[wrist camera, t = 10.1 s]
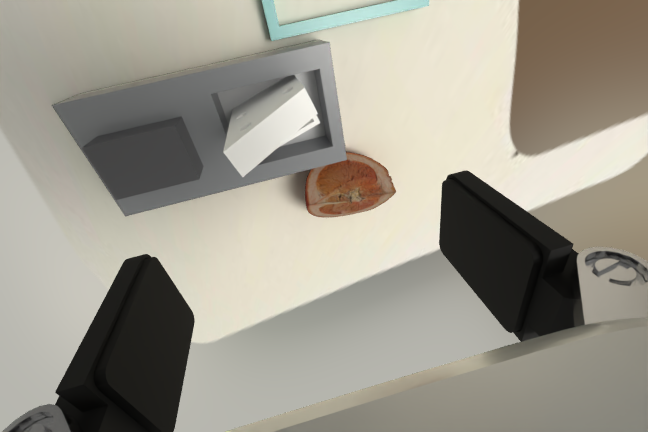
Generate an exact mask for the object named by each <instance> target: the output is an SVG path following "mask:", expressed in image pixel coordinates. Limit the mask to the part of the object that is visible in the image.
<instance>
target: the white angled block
mask: <svg viewBox="0 0 648 432" xmlns="http://www.w3.org/2000/svg"><path fill="white" fill-rule="evenodd" d="M317 114H318V113H317V111H316V109H315V107H314V105H313V103H312V101H311V99H310V97H309V95H308V93H307V91H306V89H305V88H304V86H303V85H302V84H301V83H300V81H299V80H298V79H297V78H296V77H295V75H291V76H287V77H285V78H283V79H282V80H280V81H278V82H277V83H275V84H273V85H272V86H270V87H269V88H267V89H265V90H264V91H262V92H260V93H259V94H257V95H255V96H254V97H252V98H250V99H249V100H247V101H245V102H244V103H242V104H241V105H239V106H237V107H236V108H234V109H233V110H232V114H231V119H230V123H229V128H228V132H227V137H226V141H225V146H224V151H223V153H224V154H225V155H226V156H227V158H228V159H229V160H230V162H231V163H232V164H233V166H234V167H235V168H236V169H237V171H238V172H239V173H240V175H241V176H242V177H244V176H245V175H246V174H248V173H249V172H250V171H251V170H252V169H253V168H255V167H256V166H257V165H258V164H259V163H260V162H262V161H263V160H264V159H265V158H266V157H268V156H269V155H270V154H271V153H272V152H273V151H275V150H276V149H277V148H278V147H280V146H282V145H283V144H285V143H287V142H288V141H290V140H292V139H294V138H295V137H297V136H299V135H300V134H302V133H304V132H306V131H307V130H309V129H311V128H312V127H314V126H316V125H318V124H319V123H320V121H319V119H318V117H317V116H316V115H317Z"/></svg>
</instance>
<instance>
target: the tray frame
mask: <svg viewBox="0 0 648 432" xmlns="http://www.w3.org/2000/svg"><path fill="white" fill-rule="evenodd" d="M261 1H262V6H263V10H264V14H265V18H266V22H267V26H268V30H269V34H270V39H271V41H274V40H278V39H283V38H287V37H291V36H296V35H300V34H305V33H309V32H314V31H318V30H323V29H327V28H332V27H336V26H341V25H345V24H350V23H354V22H359V21H363V20H367V19H372V18H376V17H381V16H385V15H390V14H394V13H399V12H403V11H408V10H412V9H417V8H421V7H426V6H429V0H395V1H390V2H386V3H381V4H377V5H372V6H367V7H363V8H358V9H354V10H349V11H345V12H340V13H336V14H331V15H327V16H322V17H318V18H313V19H309V20H304V21H299V22H295V23H290V24H286V25H281V26H279V23H278V18H277V14H276V9H275V5H274V1H273V0H261Z"/></svg>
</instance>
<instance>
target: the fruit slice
mask: <svg viewBox="0 0 648 432" xmlns="http://www.w3.org/2000/svg"><path fill="white" fill-rule="evenodd" d="M346 156H347V160H345V161H341V162H337V163H333V164H329V165H325V166H321V167H317V168H313V169H311V171H310V173H309V175H308V177H307V180H306V186H305V200H306V206H307V210H308V212H309V213H310V214H312V215H314V216H317V217H338V216H345V215H350V214H355V213H360V212H364V211H368V210H371V209H374V208H376V207H377V206H379V205H381V204H382V203H384V202H386V201H387V200H388V199H389V198H391V197H392V196H393V195H394V193H395V192H396V190H395V188H394V186H393V183H392V182H391V181H392V179H391V176H389V174H388V170H387V169H386V168H385V167H384V166H382V165H381V164H380V163H378V162H376V161H375V160H373V159H371V158H369V157H366V156H364V155H360V154H355V153H349V152H346Z"/></svg>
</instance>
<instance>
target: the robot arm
mask: <svg viewBox="0 0 648 432" xmlns="http://www.w3.org/2000/svg"><path fill="white" fill-rule="evenodd" d="M439 245H440V249H441V251H442V253H443V254H444V255H445V257H446V258H447V259H448V260H449V262H450V263H451V264H452V265H453V266H454V268H455V269H456V270H457V271H458V273H460V275H461V276H462V277H463V279H464V280H465V281H466V282H467V284H468V285H469V286H470V287H471V288H472V289H473V291H474V292H475V293H476V294H477V296H478V297H479V298H480V299H481V300H482V302H483V303H484V304H485V305H486V307H487V308H488V309H489V310H490V311H491V313H492V314H493V315H494V316H495V318H496V319H497V320H498V321H499V322H500V324H501V325H502V326H503V327H504V328H505V329H506V330H507V331H508V332H510V333H512V332H513V333H514V334H515V335H516V336H517V337H518V339H519V340H520V341H521V342H519V343H515V344H512V345H508V346H504V347H501V348H498V349H495V350H491V351H488V352H484V353H481V354H478V355H474V356H471V357H468V358H464V359H461V360H458V361H454V362H451V363H448V364H444V365H441V366H438V367H434V368H431V369H428V370H424V371H421V372H418V373H414V374H411V375H408V376H404V377H401V378H398V379H395V380H391V381H388V382H385V383H382V384H378V385H375V386H372V387H369V388H365V389H362V390H359V391H355V392H352V393H349V394H345V395H342V396H339V397H336V398H332V399H329V400H326V401H323V402H319V403H316V404H313V405H309V406H306V407H303V408H300V409H296V410H293V411H290V412H287V413H284V414H280V415H277V416H274V417H271V418H267V419H264V420H261V421H258V422H255V423H251V424H248V425H245V426H242V427H238V428H235V429H232V430H229V431H226V432H648V262H647V261H646V260H644V259H642V258H640V257H639V256H637V255H635V254H632V253H629V252H626V251H624V250H620V249H615V248H610V247H592V248H588V249H585V250H582V251H581V252H580V253H579V254H578V253H577V252H576V251H574V250H573V249H572V247H573V243H571V242H570V241H568V240H567V239H565V238H564V237H563V236H561V235H560V234H558V233H557V232H555V231H554V230H553V229H551V228H550V227H548V226H547V225H545V224H544V223H542V222H541V221H539V220H538V219H536V218H535V217H534V216H532V215H531V214H529V213H528V212H527V211H525V210H524V209H522V208H521V207H519V206H518V205H517V204H515V203H514V202H512V201H511V200H509V199H508V198H506V197H505V196H504V195H502V194H501V193H499V192H498V191H496V190H495V189H493V188H492V187H491V186H489V185H488V184H486V183H485V182H483V181H482V180H481V179H479V178H478V177H476V176H475V175H473V174H472V173H470V172H469V171H462V172H458V173H454V174H450V175H448V176H447V179H446V180H445V181H443V183H442V198H441V219H440V240H439ZM193 327H194V315H193V312H192V310H191V309H190V307H189V306H188V304H187V303H186V301H185V300H184V298H183V297H182V295H181V294H180V292H179V291H178V289H177V288H176V286H175V284H174V283H173V281H172V280H171V278H170V277H169V275H168V274H167V272H166V271H165V269H164V268H163V266H162V265H161V263H160V262H159V260H158V259H157V258H156V257H151V256H149V255H148V254H144V255H141V256H137V257H133V258H129V259H126V260H125V261H124V263H123V264H122V266H121V268H120V270H119V272H118V274H117V276H116V278H115V280H114V282H113V283H112V285H111V287H110V289H109V291H108V293H107V295H106V297H105V299H104V301H103V302H102V304H101V306H100V308H99V310H98V312H97V314H96V316H95V318H94V320H93V322H92V324H91V325H90V327H89V329H88V331H87V333H86V335H85V337H84V339H83V341H82V342H81V344H80V346H79V348H78V350H77V352H76V354H75V356H74V358H73V360H72V361H71V363H70V365H69V367H68V369H67V371H66V373H65V375H64V377H63V379H62V380H61V382H60V384H59V386H58V388H57V390H56V393H57V394H58V395H59V398H58V400H57V402H56V404H55V405H52V404H47V405H43V406H39V407H37V408H34V409H32V410H30V411H28V412H27V413H25V414H24V415H22V416H21V417H19V418H18V419H16V420H15V421H14V422H12V423H11V424H10V425H9V426H8V427H7V428H6V429H4V430H3V432H173V431H174V428H175V423H176V418H177V413H178V407H179V402H180V396H181V391H182V386H183V380H184V375H185V370H186V365H187V359H188V354H189V349H190V343H191V338H192V333H193Z"/></svg>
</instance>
